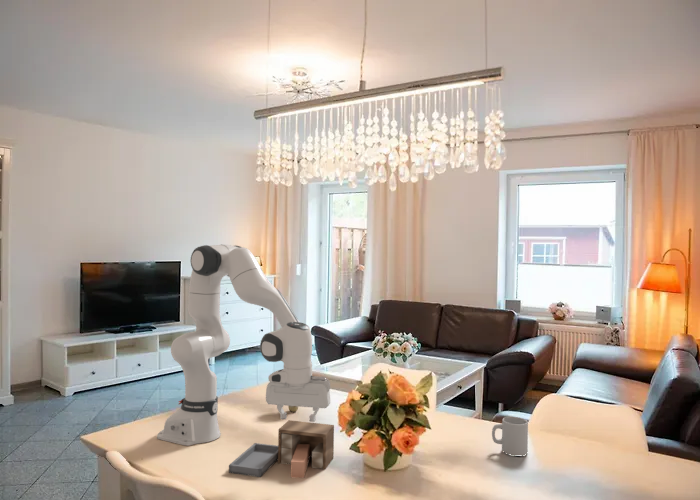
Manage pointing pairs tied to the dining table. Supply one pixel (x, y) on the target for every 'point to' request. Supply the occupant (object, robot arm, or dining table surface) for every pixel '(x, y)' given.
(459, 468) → the dining table surface
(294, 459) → the block
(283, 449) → the shelf
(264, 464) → the tray
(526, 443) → the mug
